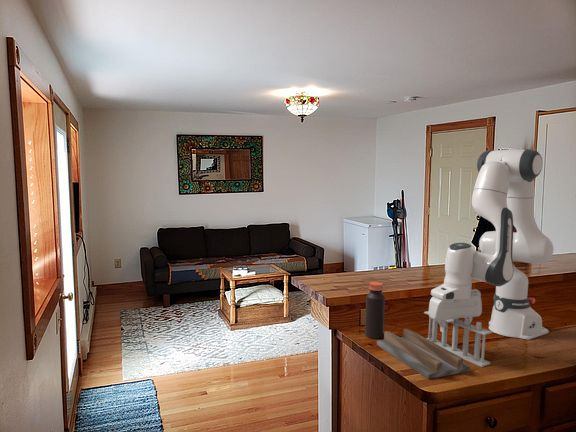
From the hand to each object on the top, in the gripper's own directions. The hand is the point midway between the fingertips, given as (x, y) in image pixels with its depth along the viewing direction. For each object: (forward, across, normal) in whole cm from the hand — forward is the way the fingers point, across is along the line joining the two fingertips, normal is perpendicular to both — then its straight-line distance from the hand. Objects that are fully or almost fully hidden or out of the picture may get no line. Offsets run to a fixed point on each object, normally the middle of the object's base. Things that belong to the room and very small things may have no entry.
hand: (454, 330), depth 157 cm
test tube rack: (+8, 0, 0) cm, 8 cm away
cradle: (+8, +14, 0) cm, 16 cm away
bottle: (+8, +18, -22) cm, 29 cm away
